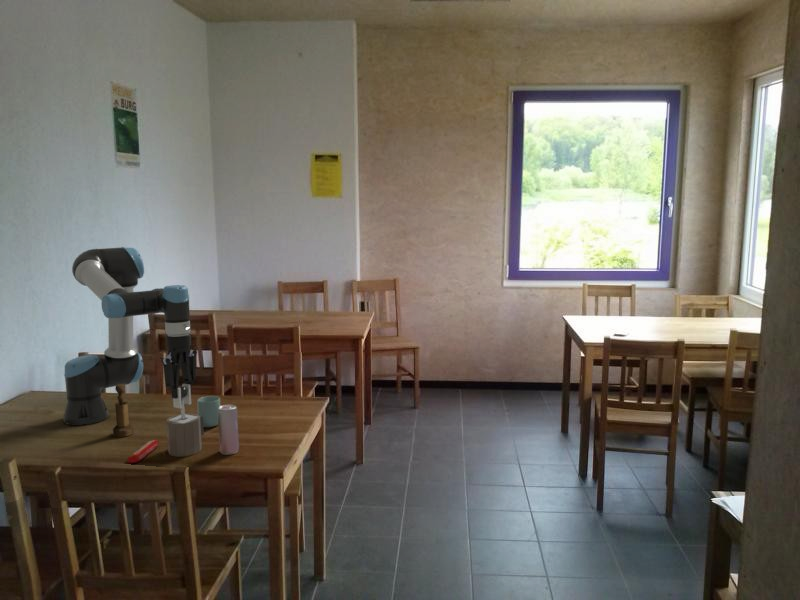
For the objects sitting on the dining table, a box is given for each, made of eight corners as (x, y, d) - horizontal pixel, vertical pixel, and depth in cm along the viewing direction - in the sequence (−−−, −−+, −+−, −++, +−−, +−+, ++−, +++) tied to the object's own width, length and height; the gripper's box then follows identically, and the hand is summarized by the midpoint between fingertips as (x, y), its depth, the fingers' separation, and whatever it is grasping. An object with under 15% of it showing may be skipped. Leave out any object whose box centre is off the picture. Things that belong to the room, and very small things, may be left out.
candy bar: (149, 446, 211) (149, 437, 211) (160, 446, 211) (159, 437, 210) (125, 465, 195) (124, 456, 195) (136, 466, 195) (136, 456, 194)
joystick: (169, 446, 204) (165, 388, 202) (184, 439, 211) (181, 382, 208) (185, 449, 202) (181, 390, 199) (200, 442, 208) (197, 385, 205)
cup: (214, 430, 225) (213, 402, 224) (194, 428, 227) (193, 401, 225) (224, 422, 233) (223, 396, 231) (205, 421, 234) (204, 395, 233)
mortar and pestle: (137, 431, 224) (134, 382, 221) (124, 438, 218) (120, 387, 215) (122, 429, 226) (119, 380, 224) (109, 436, 220) (105, 385, 217)
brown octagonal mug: (162, 453, 204) (159, 421, 202) (191, 439, 216) (189, 409, 214) (185, 458, 200) (183, 425, 198) (214, 444, 212) (212, 413, 210)
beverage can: (221, 448, 208) (219, 404, 206) (240, 448, 208) (238, 403, 206) (218, 455, 202) (215, 410, 200) (237, 455, 202) (235, 409, 200)
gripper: (167, 340, 192) (172, 414, 195) (205, 330, 207) (209, 399, 210) (149, 338, 195) (154, 411, 198) (188, 328, 210) (191, 397, 213)
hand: (182, 405), depth 204 cm, fingers closed on joystick, 4 cm apart
